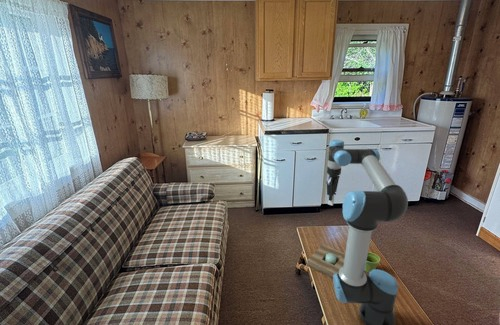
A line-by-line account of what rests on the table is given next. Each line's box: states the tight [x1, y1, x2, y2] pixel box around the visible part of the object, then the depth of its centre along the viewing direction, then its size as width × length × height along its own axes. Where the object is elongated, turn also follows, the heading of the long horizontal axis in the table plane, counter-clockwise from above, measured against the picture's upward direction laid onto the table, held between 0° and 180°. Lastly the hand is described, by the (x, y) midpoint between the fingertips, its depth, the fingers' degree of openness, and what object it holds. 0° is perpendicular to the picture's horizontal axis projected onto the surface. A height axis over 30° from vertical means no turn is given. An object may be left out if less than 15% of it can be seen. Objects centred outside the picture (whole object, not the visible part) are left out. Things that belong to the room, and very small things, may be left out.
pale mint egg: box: [325, 253, 337, 265], centre depth 157 cm, size 6×6×5 cm
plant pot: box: [364, 251, 381, 274], centre depth 152 cm, size 9×9×9 cm
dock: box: [306, 243, 345, 279], centre depth 157 cm, size 20×20×4 cm
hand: (330, 204), depth 157 cm, fingers closed
